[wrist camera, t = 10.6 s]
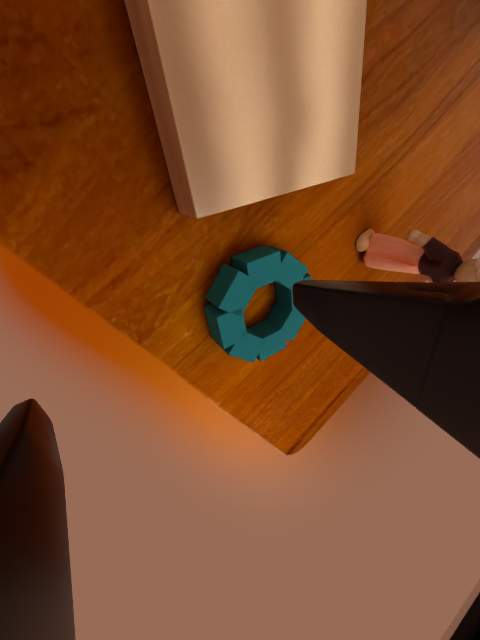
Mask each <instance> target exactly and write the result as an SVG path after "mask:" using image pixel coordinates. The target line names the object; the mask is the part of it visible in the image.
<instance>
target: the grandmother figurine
mask: <svg viewBox="0 0 480 640" xmlns="http://www.w3.org/2000/svg"><path fill="white" fill-rule="evenodd" d="M407 238H408V239H409V240H410V241H414V242H415V243H416V244H417V245H419V246H421V248H418V247H416V246H414V245H413V244H411V243H409V242H407V241H405V240H403V239H400V238H397V237H393V236H389V235H385V234H381V233H375V232H374V231H373V230H372V229H368V230H367V231H365V232H364V233H362V234H361V235H360V236H359V237H358V239H357V242H356V248H357V250H358V251H359V252H361V251H365V250H366V252H365V253H364V256H363V261H364V262H365V265H366V266H367V267H371V268H375V269H382V270H388V271H399V272H405V273H414V274H421V275H422V277H421V280H422V281H423V282H453V281H454V280H456V282H480V258H479V259H470V260H467V261H465V262H463V261H462V258H461V256H460V254H459V253H457V252H455V251H453V250H451V249H450V248H448V247H447V246H446V245H444V244H443V243H441V242H440V241H438V240H437V239H435V238H434V237H430V236H428V235H426V234H422V233H420V232H419V231H418V230H416V229H413V230H411V231H409V233H408V235H407Z"/></svg>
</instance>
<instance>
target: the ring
mask: <svg viewBox="0 0 480 640" xmlns="http://www.w3.org/2000/svg"><path fill="white" fill-rule="evenodd" d="M231 260H232V266H233V267H231V266H229V265H227V264H225V263H223V265H222V267H221V269H220V271H219V272H218V274H217V276H216V278H215V280H214V282H213V283H212V285H211V287H210V289H209V291H208V293H207V294H206V296H205V298H206V299H208V300H209V301H210V302H212V303H211V304H209V305H206V306H204V310H205V314H206V318H207V322H208V326H209V330H210V334H211V337H212V338H213V339H214V340H215V341H216V343H217V344H218V345H219V346H220V347H221V348H222V349H223V350H224V351H225V352H226V353H227V354H228V355H231V356H234V357H237V358H240V359H243V360H247V361H250V362H254V361H255V359H256V358H257V359H258V360H259V361H262V360H264V359H266V358H268V357H269V356H271V355H273V354H275V353H277V352H278V351H280V350H282V349H284V348H286V347H287V345H286V339H288V340H290V341H293V339H294V338H295V336H296V334H297V333H298V331H299V329H300V328H301V326H302V324H303V323H304V321H305V319H306V318H305V317H304V316H303V315H302V314H301V313H300V312H299V311H298V310H297V309H296V308H295V307H294V305H293V290H292V287H293V284H294V283H296V282H299V281H301V280H311V275H309V274H306V272H307V270H308V268H307V267H306V266H305V265H303V264H302V263H301V262H300V261H298V260H297V259H296V258H295V257H293V256H292V255H291V254H290V253H289V252H287V251H284V250H281V249H277V248H274V247H271V246H270V247H267V246H264V245H261V246H258V247H256V248H253V249H250V250H247V251H244V252H242V253H239V254H236V255H233V256H231ZM272 282H275V293H276V302H275V304H274V306H273V308H272V309H271V311H270V313H269V314H268V316H267V318H266V319H265V320H263V321H261V322H259V323H257V324H255V325H253V326H251V327H249V328H247V327H246V326H245V320H244V313H243V312H244V310H245V308H246V306H247V305H248V303H249V301H250V299H251V298H252V296H253V294H254V292H255V290H256V289H258V288H260V287H263V286H265V285H267V284H270V283H272Z"/></svg>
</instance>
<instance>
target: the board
mask: <svg viewBox="0 0 480 640" xmlns="http://www.w3.org/2000/svg"><path fill="white" fill-rule="evenodd" d="M124 1H125V5H126V9H127V12H128V16H129V20H130V24H131V28H132V32H133V36H134V40H135V44H136V47H137V51H138V55H139V59H140V63H141V67H142V71H143V75H144V79H145V83H146V86H147V90H148V94H149V98H150V102H151V106H152V110H153V114H154V118H155V121H156V125H157V129H158V133H159V137H160V141H161V145H162V149H163V153H164V156H165V160H166V164H167V168H168V172H169V176H170V180H171V184H172V188H173V191H174V195H175V199H176V203H177V207H178V211H179V214H183V215H186V216H189V217H192V218H196V219H199V218H202V217H206V216H209V215H213V214H216V213H220V212H223V211H227V210H230V209H234V208H237V207H241V206H244V205H247V204H251V203H254V202H258V201H261V200H265V199H268V198H272V197H275V196H279V195H282V194H286V193H289V192H293V191H296V190H300V189H303V188H307V187H310V186H314V185H317V184H321V183H324V182H327V181H331V180H334V179H338V178H341V177H345V176H348V175H352V174H354V173H355V163H356V149H357V135H358V120H359V106H360V92H361V78H362V64H363V49H364V35H365V21H366V7H367V0H124Z"/></svg>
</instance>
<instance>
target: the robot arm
mask: <svg viewBox="0 0 480 640" xmlns="http://www.w3.org/2000/svg"><path fill="white" fill-rule="evenodd" d="M292 290H293V305H294V307H295V308H296V309H297V310H298V311H299V312H300V313H301V314H302V315H303V316H304V317H305V318H306V319H307V320H308V321H309V322H310V323H311V324H312V325H313V326H314V327H315V328H316V329H318V330H319V331H320V332H321V333H322V334H323V335H325V336H326V337H327V338H328V339H330V340H331V341H332V342H333V343H335V344H336V345H337V346H338V347H340V348H341V349H342V350H343V351H345V352H346V353H347V354H348V355H350V356H351V357H352V358H354V359H355V360H356V361H357V362H359V363H360V364H361V365H362V366H364V367H365V368H366V369H367V370H369V371H370V372H371V373H372V374H374V375H375V376H376V377H378V378H379V379H380V380H381V381H383V382H384V383H385V384H386V385H388V386H389V387H390V388H392V389H393V390H394V391H395V392H396V393H398V394H399V395H400V396H402V397H403V398H404V399H405V400H406V401H408V402H409V403H410V404H412V405H413V406H414V407H416V409H418V410H419V411H420V412H421V413H423V414H424V415H425V416H426V417H428V418H429V419H430V420H431V421H433V422H434V423H435V424H436V425H438V426H439V427H440V428H441V429H443V430H444V431H445V432H447V433H448V434H449V435H450V436H452V437H453V438H454V439H456V440H457V441H458V442H459V443H460V444H462V445H463V446H464V447H465V448H467V449H468V450H469V451H470V452H472V453H473V454H474V455H476V456H477V457H478V458H479V459H480V282H397V283H396V282H372V281H327V280H301V281H299V282H296V283H294V284H293V287H292ZM0 640H76V639H75V626H74V612H73V598H72V584H71V570H70V556H69V543H68V528H67V515H66V500H65V486H64V476H63V469H62V464H61V460H60V455H59V451H58V447H57V442H56V438H55V433H54V429H53V425H52V422H51V420H50V418H49V417H48V415H47V414H46V413H45V412H44V410H43V409H42V408H41V406H40V405H39V404H38V403H37V401H36V400H34V399H28V400H26V401H24V402H22V403H19V404H17V405H15V406H14V407H13V408H12V409H11V410H10V411H9V413H8V414H7V415H6V416H5V418H4V419H3V420H2V421H1V423H0ZM441 640H480V580H479V581H478V583H477V585H476V586H475V587H474V589H473V591H472V592H471V594H470V595H469V597H468V598H467V600H466V601H465V603H464V604H463V606H462V607H461V609H460V610H459V612H458V613H457V615H456V617H455V618H454V620H453V621H452V623H451V624H450V626H449V627H448V629H447V630H446V632H445V633H444V635H443V636H442V638H441Z"/></svg>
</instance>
